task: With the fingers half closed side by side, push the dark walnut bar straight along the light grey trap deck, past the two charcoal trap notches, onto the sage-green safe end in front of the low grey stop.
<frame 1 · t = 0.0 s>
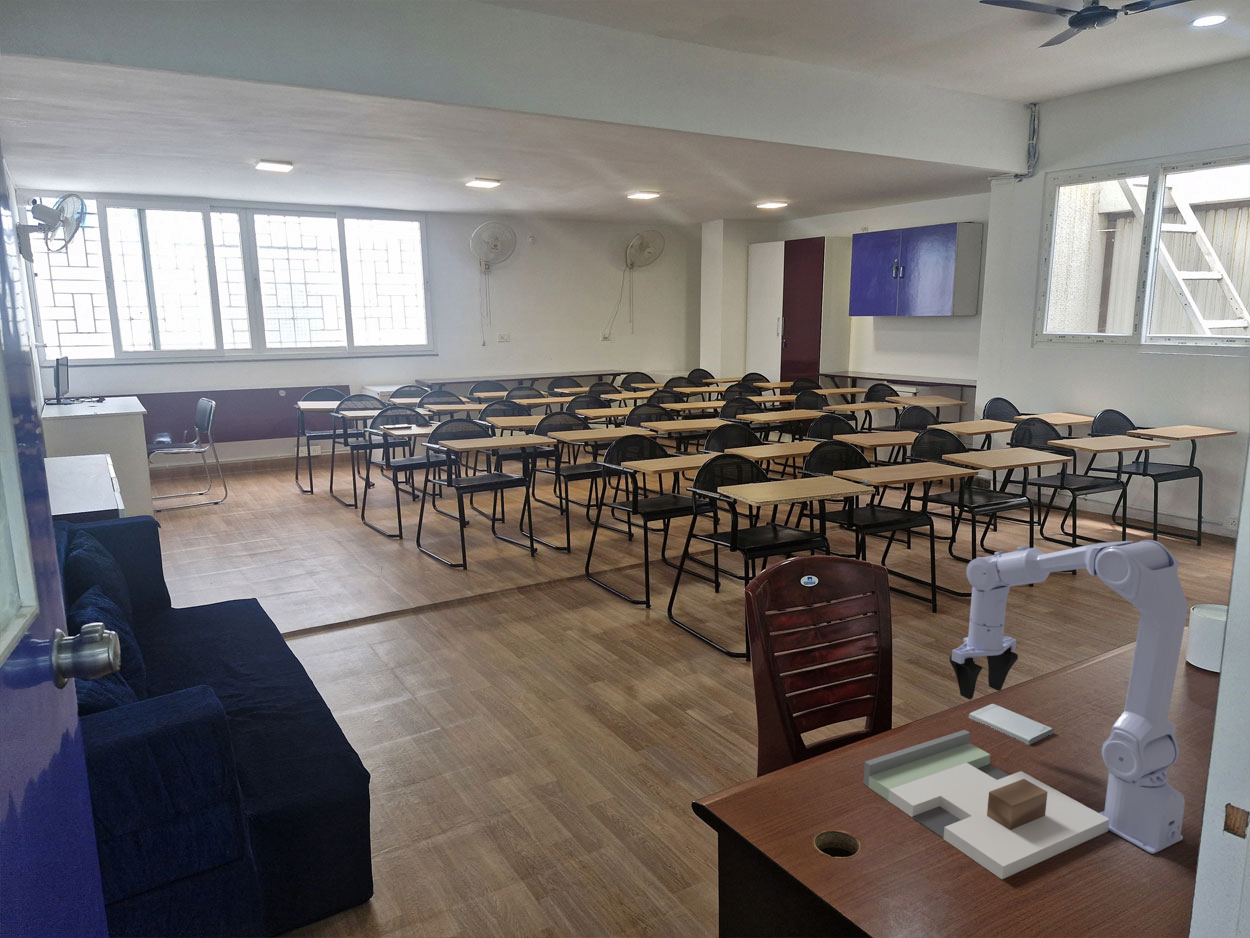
hand: (980, 692, 145), 10 cm above the table, fingers open, 7 cm apart
hard drive: (1009, 728, 154), on the table
walnut bar: (1015, 815, 122), point 2 cm above the table, touching trap deck
trap deck: (981, 807, 127), on the table
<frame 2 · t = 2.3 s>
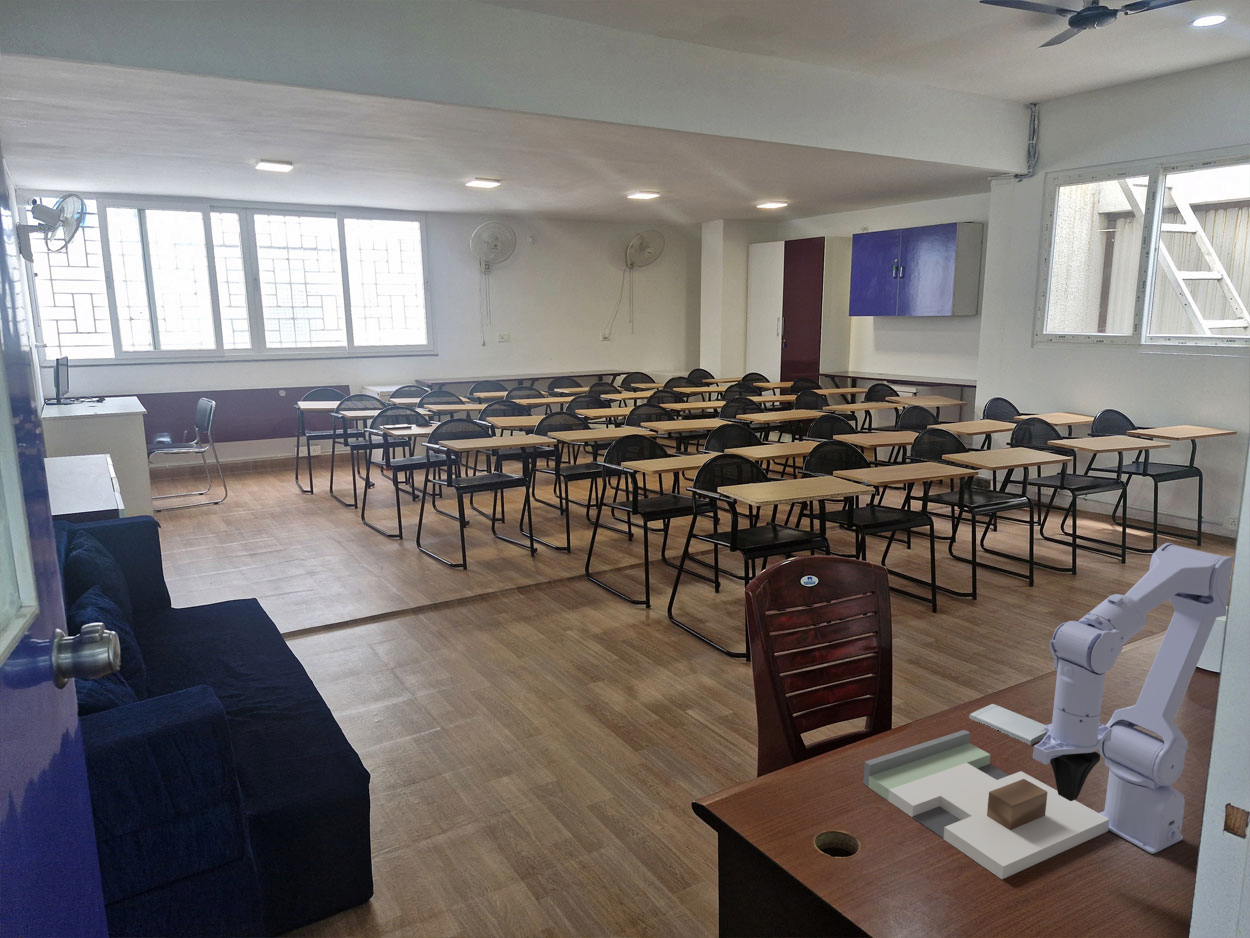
hand: (1067, 796, 114), 9 cm above the table, fingers closed
nothing on the table moved.
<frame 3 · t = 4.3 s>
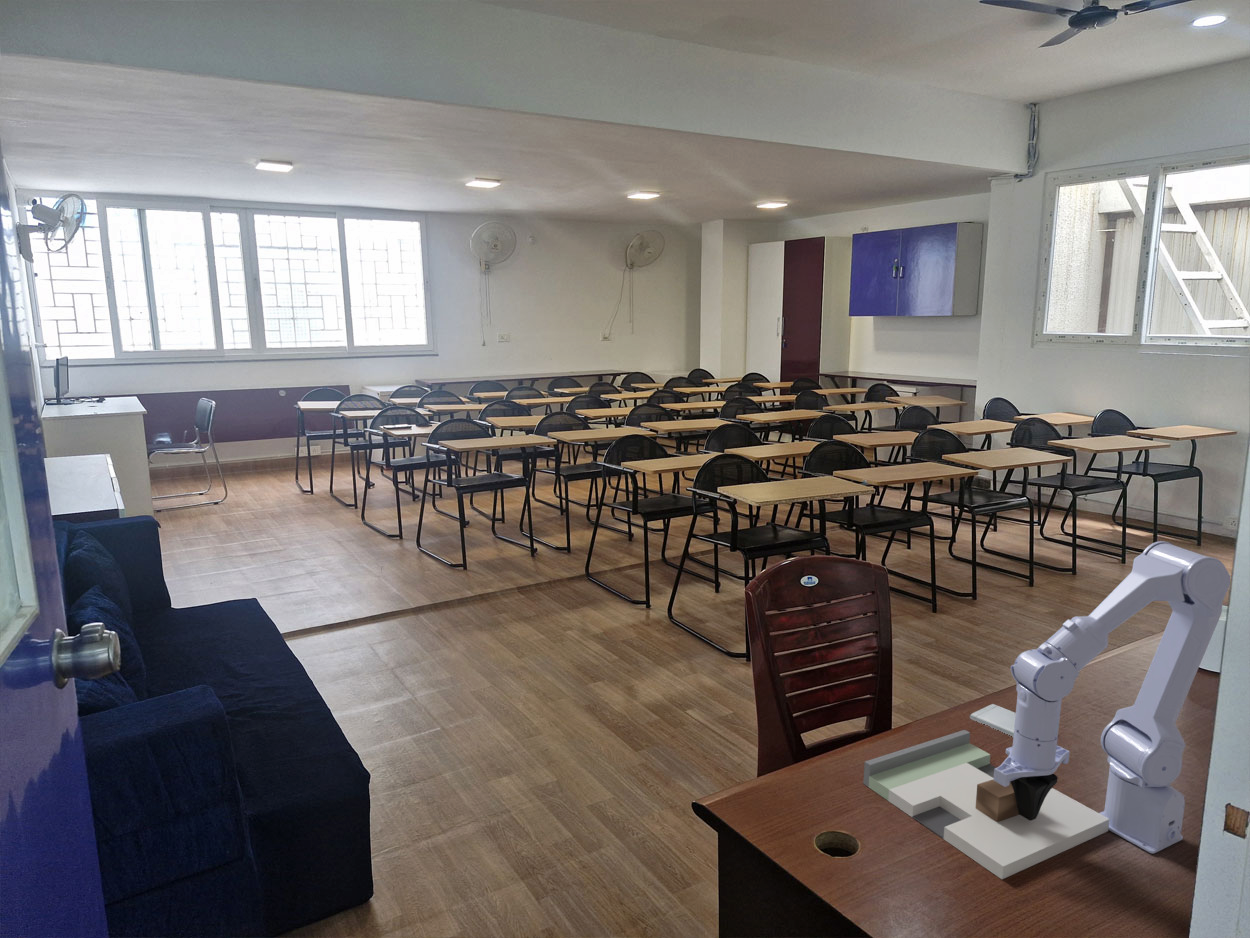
hand: (1027, 816, 120), 3 cm above the table, fingers closed
walnut bar: (1004, 808, 123), point 2 cm above the table, touching gripper
everything else where it was.
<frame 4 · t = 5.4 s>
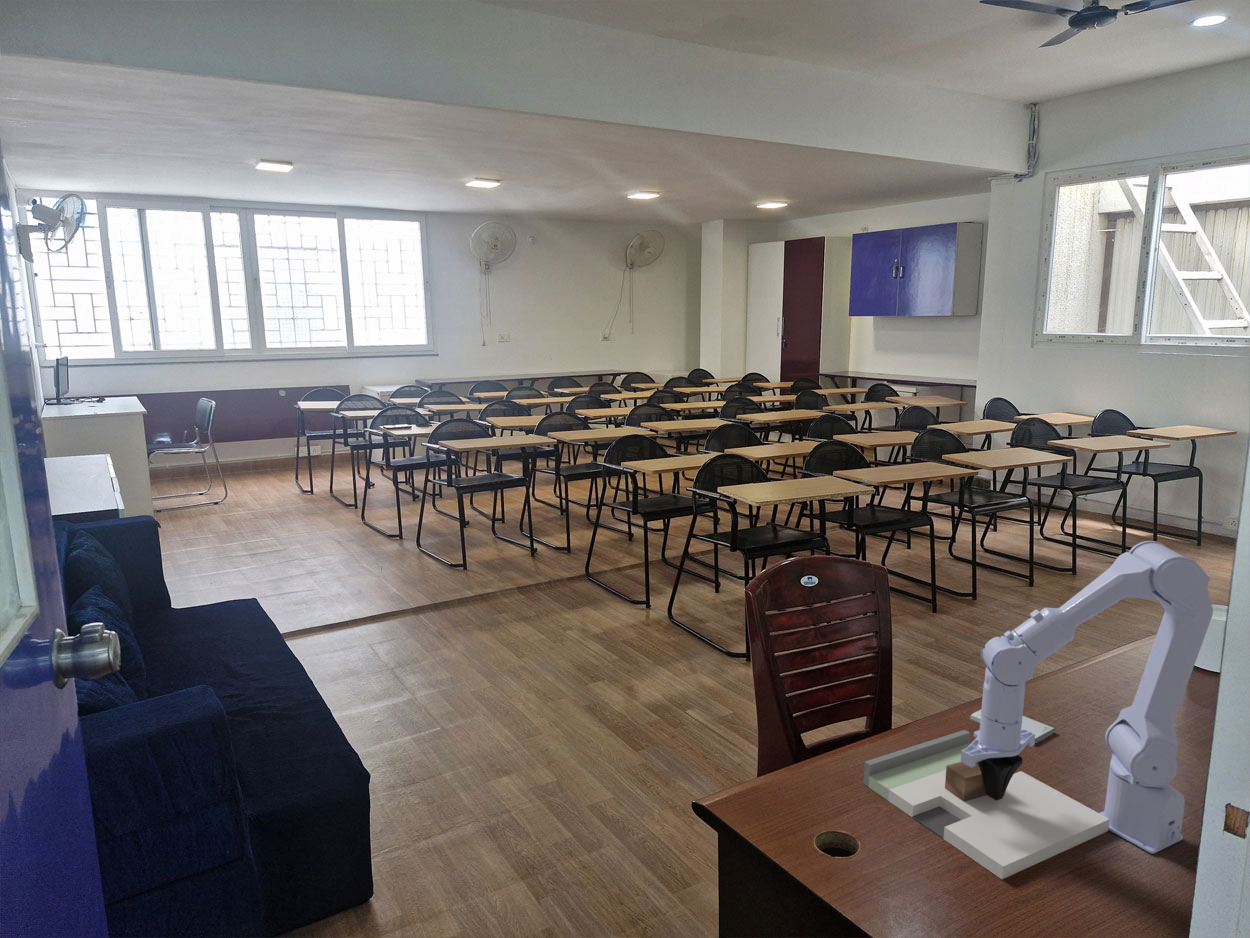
hand: (994, 796, 125), 3 cm above the table, fingers closed
walnut bar: (973, 789, 129), point 2 cm above the table, touching gripper, trap deck
everything else where it was.
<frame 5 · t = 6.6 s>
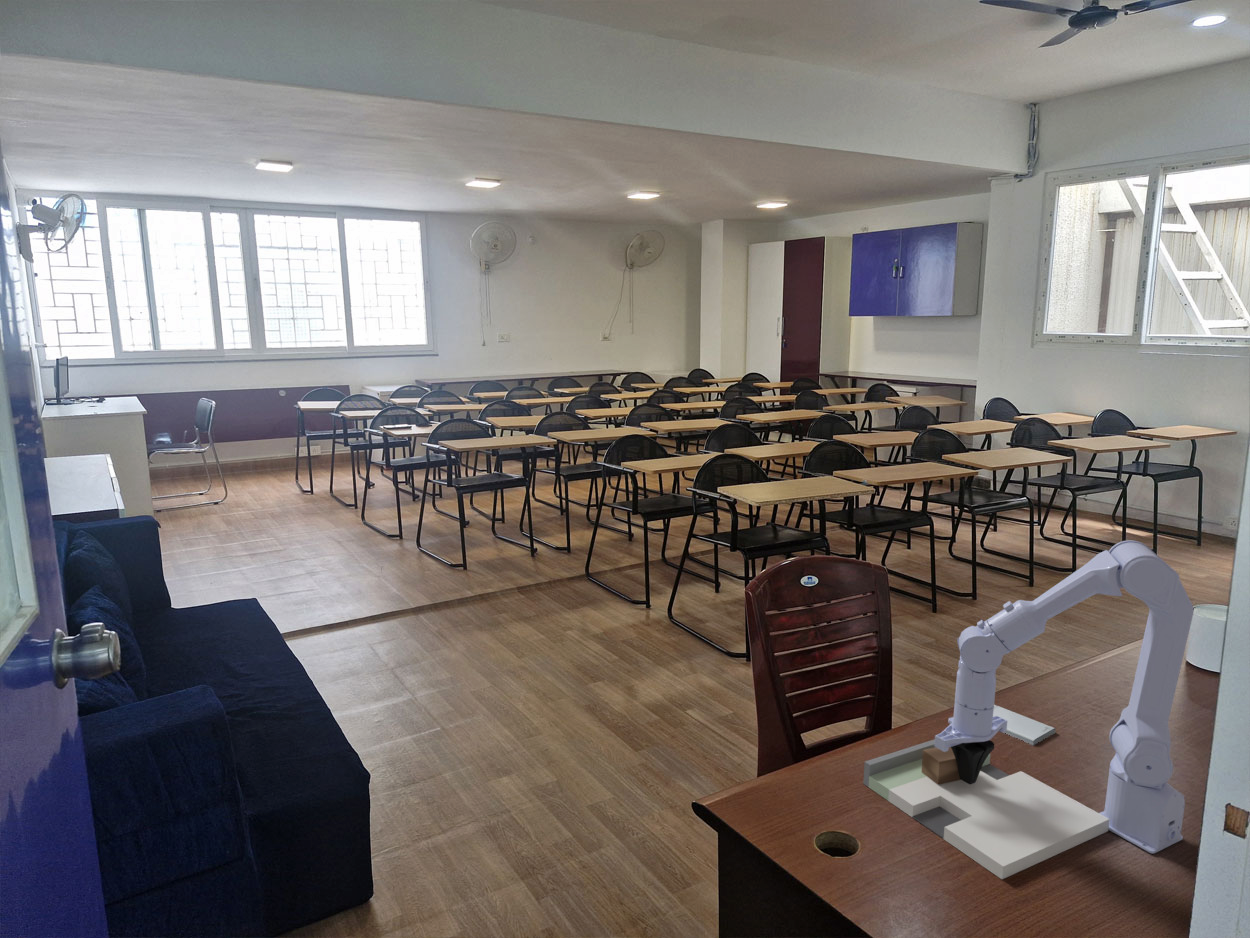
hand: (967, 780, 129), 3 cm above the table, fingers closed
walnut bar: (949, 774, 133), point 2 cm above the table, touching gripper
everything else where it was.
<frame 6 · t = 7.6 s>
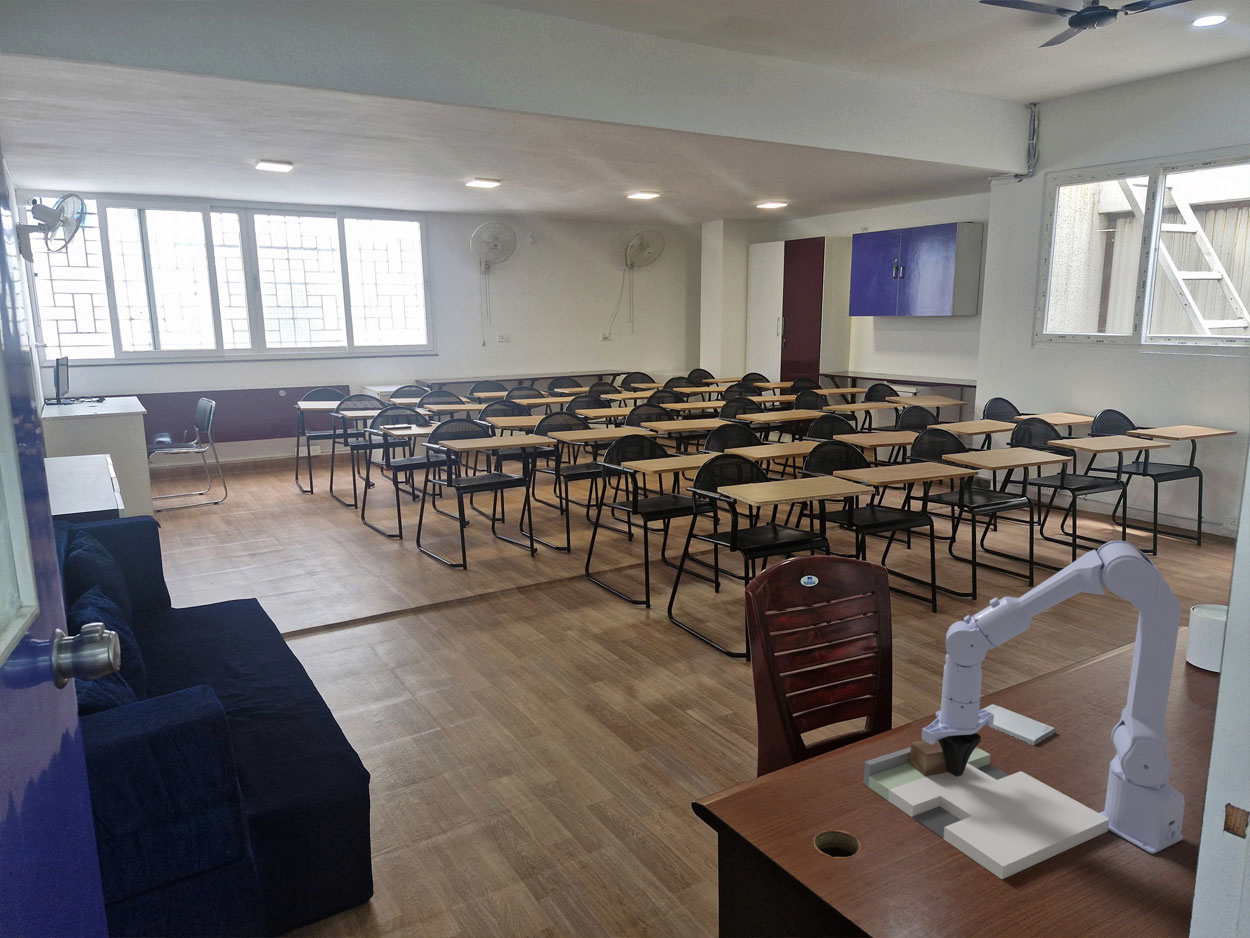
hand: (954, 773, 132), 3 cm above the table, fingers closed
walnut bar: (937, 766, 135), point 2 cm above the table, touching gripper, trap deck
everything else where it was.
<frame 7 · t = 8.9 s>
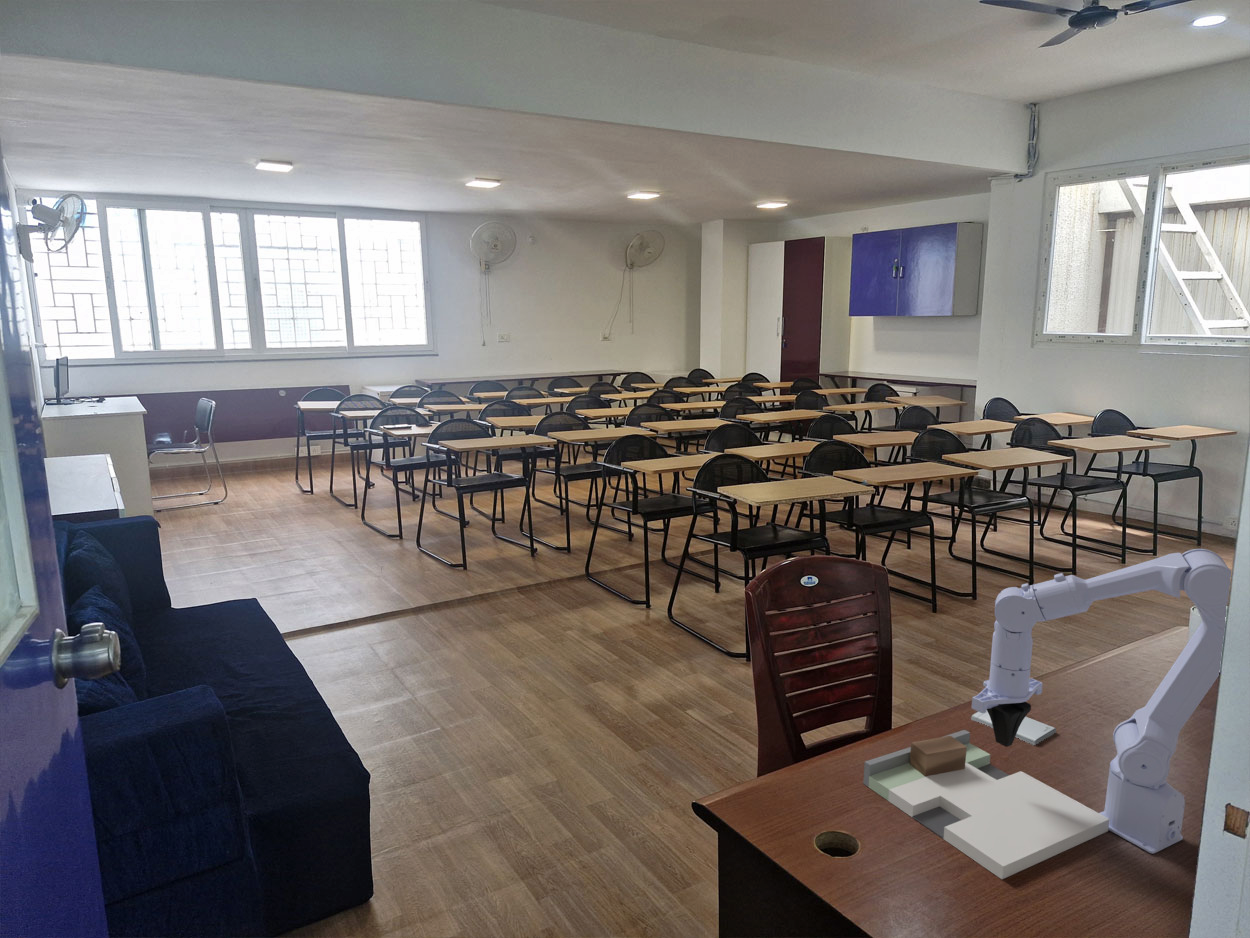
hand: (1003, 743, 129), 9 cm above the table, fingers closed
walnut bar: (937, 766, 135), point 2 cm above the table, touching trap deck
everything else where it was.
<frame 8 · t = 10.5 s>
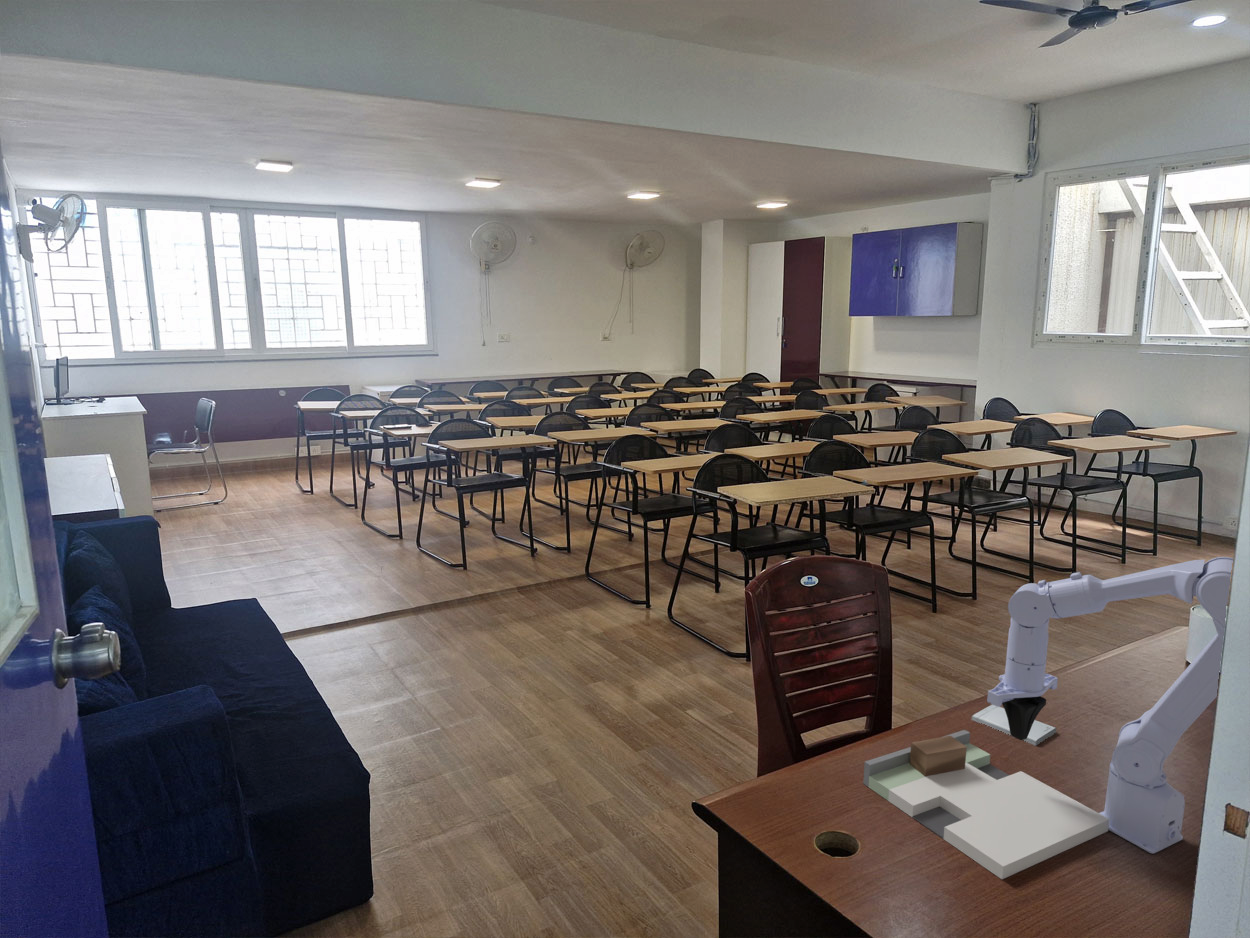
hand: (1018, 736, 131), 9 cm above the table, fingers closed
nothing on the table moved.
at the end: walnut bar 0.6 cm from the target spot on the trap deck, point 2.0 cm above the trap deck's base; walnut bar tilted 0° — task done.
